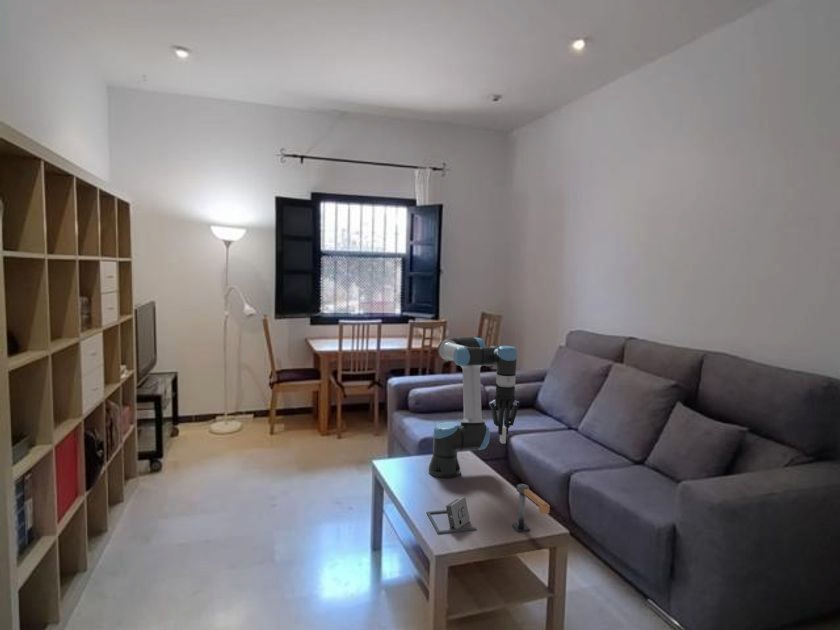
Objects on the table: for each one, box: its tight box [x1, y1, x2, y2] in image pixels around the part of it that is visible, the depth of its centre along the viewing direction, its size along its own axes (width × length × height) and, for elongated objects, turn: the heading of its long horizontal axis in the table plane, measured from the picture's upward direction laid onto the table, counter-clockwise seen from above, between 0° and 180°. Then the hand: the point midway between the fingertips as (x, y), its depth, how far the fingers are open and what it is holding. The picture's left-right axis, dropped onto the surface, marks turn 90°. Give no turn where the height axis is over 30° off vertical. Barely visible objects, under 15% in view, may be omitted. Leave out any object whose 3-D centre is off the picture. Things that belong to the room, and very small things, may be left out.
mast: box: [511, 492, 531, 533], centre depth 187 cm, size 5×5×14 cm
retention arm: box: [516, 483, 551, 515], centre depth 180 cm, size 17×4×4 cm, turn 20°
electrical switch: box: [445, 496, 471, 529], centre depth 189 cm, size 9×5×9 cm, turn 143°
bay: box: [425, 509, 478, 535], centre depth 191 cm, size 16×15×1 cm
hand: (502, 442), depth 201 cm, fingers closed
